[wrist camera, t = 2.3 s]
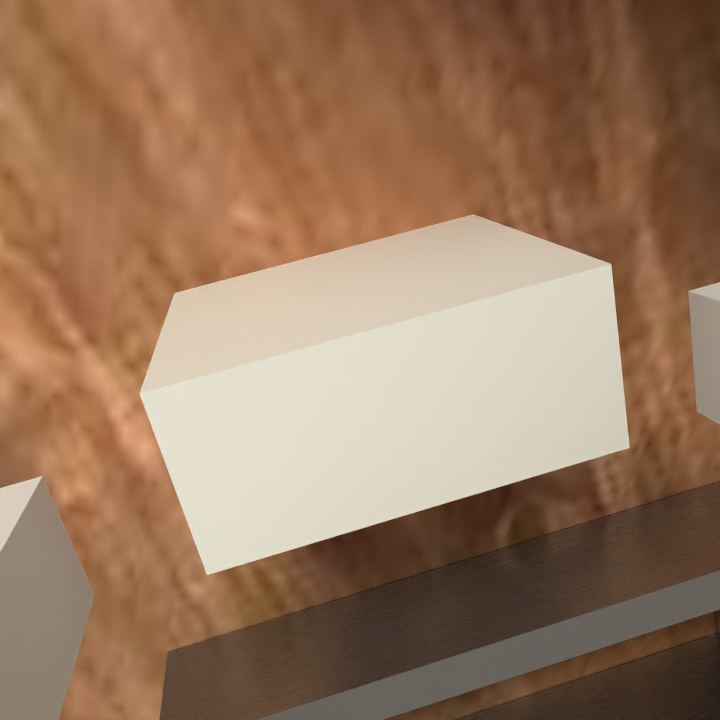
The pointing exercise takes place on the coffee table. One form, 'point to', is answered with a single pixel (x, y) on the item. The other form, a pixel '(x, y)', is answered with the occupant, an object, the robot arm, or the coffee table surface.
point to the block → (381, 383)
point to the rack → (487, 632)
